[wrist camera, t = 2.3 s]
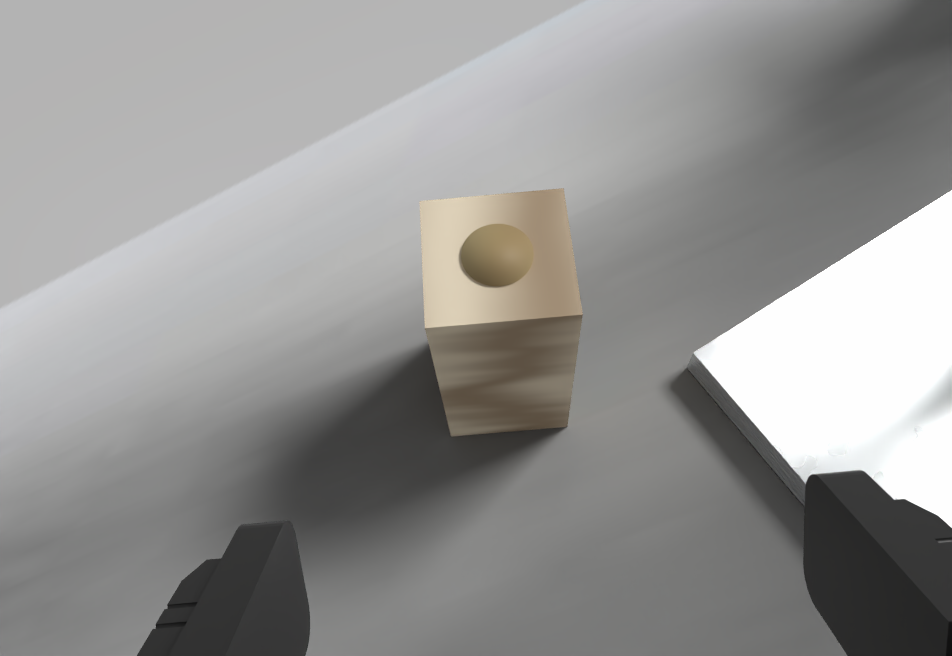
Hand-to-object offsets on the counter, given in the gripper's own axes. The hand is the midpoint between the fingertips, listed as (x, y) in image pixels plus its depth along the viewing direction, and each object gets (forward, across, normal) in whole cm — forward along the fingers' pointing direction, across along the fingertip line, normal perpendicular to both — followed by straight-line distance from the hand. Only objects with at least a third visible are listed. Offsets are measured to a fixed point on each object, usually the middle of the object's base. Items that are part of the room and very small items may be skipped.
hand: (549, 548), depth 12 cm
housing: (+22, 0, +5) cm, 23 cm away
